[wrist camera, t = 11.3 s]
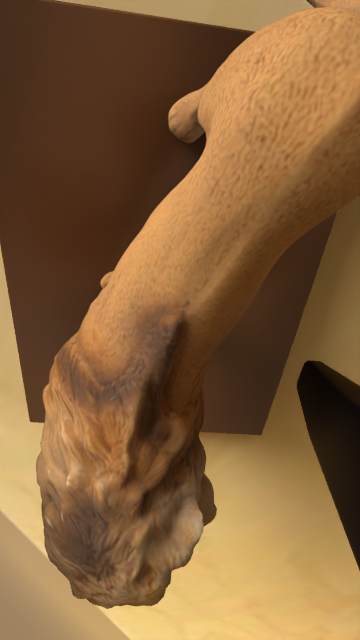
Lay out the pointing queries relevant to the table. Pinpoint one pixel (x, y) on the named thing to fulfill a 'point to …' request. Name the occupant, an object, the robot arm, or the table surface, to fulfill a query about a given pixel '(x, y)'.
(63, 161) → the walnut board
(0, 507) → the table surface
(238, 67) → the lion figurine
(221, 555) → the table surface
